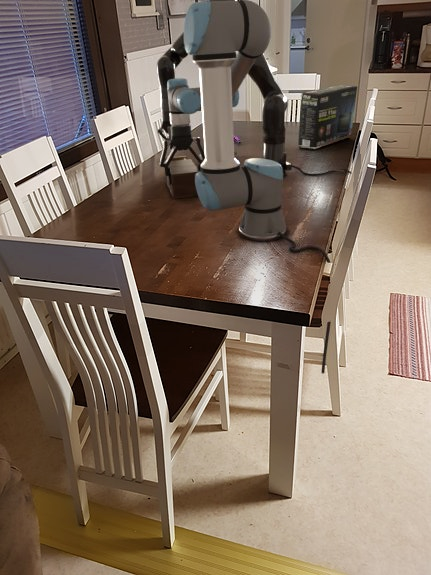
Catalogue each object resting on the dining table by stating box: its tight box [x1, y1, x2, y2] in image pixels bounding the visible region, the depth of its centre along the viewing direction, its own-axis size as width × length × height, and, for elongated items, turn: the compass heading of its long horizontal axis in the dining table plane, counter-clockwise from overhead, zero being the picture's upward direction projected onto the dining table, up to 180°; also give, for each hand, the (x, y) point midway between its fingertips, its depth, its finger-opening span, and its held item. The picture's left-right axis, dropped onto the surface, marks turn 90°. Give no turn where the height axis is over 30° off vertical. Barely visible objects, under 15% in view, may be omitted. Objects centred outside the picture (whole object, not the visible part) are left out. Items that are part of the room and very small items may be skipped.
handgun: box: [234, 135, 242, 145], centre depth 257 cm, size 21×8×2 cm, turn 11°
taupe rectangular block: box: [165, 158, 199, 200], centre depth 186 cm, size 18×11×10 cm, turn 13°
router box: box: [297, 84, 358, 151], centre depth 238 cm, size 36×11×27 cm, turn 134°
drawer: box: [164, 155, 187, 177], centre depth 196 cm, size 23×10×8 cm, turn 13°
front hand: (184, 182), depth 181 cm, fingers open, 11 cm apart
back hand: (173, 150), depth 201 cm, fingers closed
